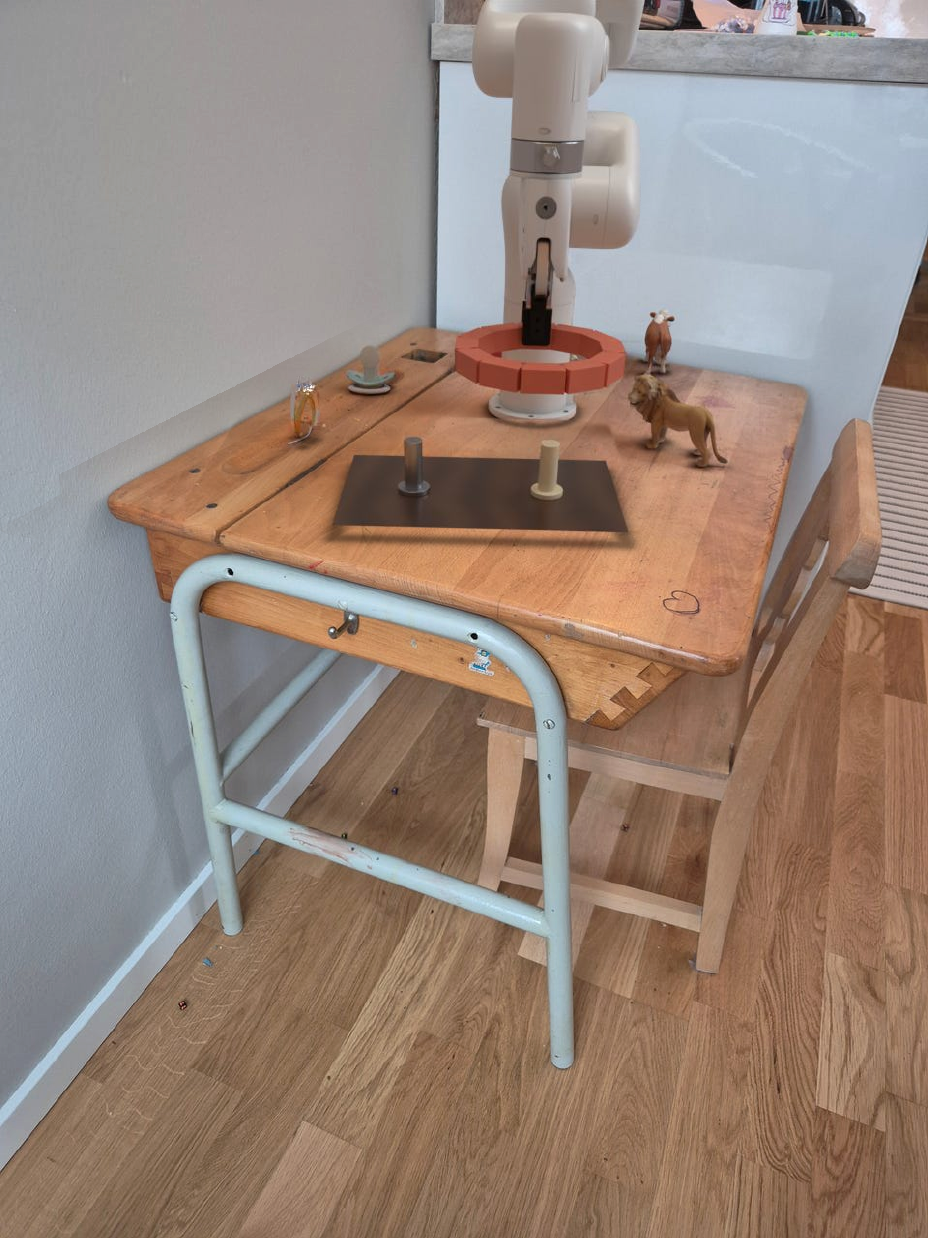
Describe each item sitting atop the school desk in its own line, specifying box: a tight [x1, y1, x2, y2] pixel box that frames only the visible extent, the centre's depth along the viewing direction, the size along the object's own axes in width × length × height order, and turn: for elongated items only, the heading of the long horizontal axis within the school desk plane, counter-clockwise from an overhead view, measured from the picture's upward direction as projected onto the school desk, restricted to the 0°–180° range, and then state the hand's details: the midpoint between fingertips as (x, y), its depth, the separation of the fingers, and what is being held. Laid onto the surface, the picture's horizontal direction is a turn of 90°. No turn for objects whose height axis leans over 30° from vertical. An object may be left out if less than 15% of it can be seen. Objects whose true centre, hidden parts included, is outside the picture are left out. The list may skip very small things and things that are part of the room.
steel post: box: [398, 436, 430, 497], centre depth 95 cm, size 4×4×6 cm
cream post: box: [531, 439, 563, 500], centre depth 95 cm, size 4×4×6 cm
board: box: [332, 454, 629, 533], centre depth 98 cm, size 31×19×2 cm, turn 89°
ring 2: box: [454, 322, 627, 395], centre depth 92 cm, size 18×18×2 cm
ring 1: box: [289, 378, 322, 439], centre depth 111 cm, size 7×3×8 cm, turn 160°
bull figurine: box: [642, 309, 675, 375], centre depth 141 cm, size 4×13×8 cm, turn 167°
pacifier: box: [345, 345, 396, 395], centre depth 129 cm, size 7×6×6 cm
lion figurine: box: [627, 373, 728, 468], centre depth 110 cm, size 15×5×9 cm, turn 50°
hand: (534, 339), depth 98 cm, fingers closed on ring 2, 2 cm apart
